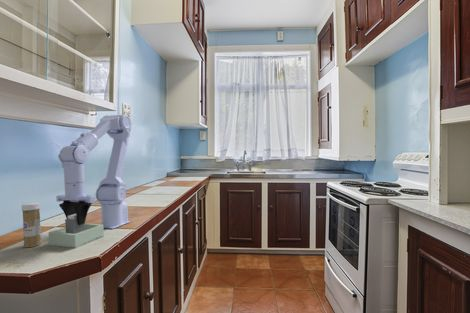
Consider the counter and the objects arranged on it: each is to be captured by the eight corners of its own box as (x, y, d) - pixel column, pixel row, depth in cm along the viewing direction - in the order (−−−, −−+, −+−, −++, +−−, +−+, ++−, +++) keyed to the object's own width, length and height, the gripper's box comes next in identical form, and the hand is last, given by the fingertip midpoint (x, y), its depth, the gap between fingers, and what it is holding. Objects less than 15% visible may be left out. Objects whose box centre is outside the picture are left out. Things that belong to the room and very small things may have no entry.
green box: (79, 234, 95) (78, 222, 95) (103, 236, 92) (103, 224, 92) (49, 244, 85) (48, 232, 85) (75, 248, 81) (75, 234, 81)
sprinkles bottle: (19, 248, 83) (17, 204, 82) (31, 242, 87) (29, 201, 87) (34, 247, 82) (32, 204, 82) (45, 242, 87) (43, 201, 87)
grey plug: (76, 229, 90) (75, 213, 90) (84, 230, 89) (83, 213, 89) (65, 233, 86) (64, 216, 86) (74, 234, 85) (73, 216, 85)
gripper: (46, 183, 86) (48, 225, 86) (81, 184, 81) (83, 228, 82) (66, 181, 93) (68, 220, 93) (99, 181, 88) (101, 222, 89)
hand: (76, 223), depth 88 cm, fingers closed on grey plug, 3 cm apart
